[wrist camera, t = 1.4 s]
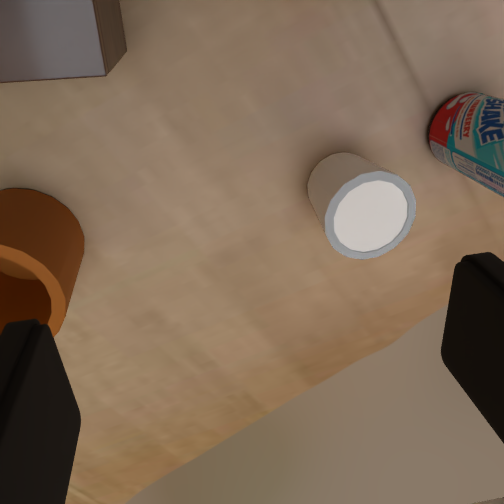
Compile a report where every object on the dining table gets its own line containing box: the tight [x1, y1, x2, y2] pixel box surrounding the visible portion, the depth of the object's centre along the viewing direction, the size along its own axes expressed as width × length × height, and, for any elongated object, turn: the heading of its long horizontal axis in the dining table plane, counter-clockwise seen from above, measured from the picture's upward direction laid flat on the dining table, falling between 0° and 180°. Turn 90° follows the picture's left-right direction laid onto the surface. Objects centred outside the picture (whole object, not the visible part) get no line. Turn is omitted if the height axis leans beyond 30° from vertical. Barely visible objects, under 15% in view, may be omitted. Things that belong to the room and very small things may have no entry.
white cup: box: [307, 152, 416, 260], centre depth 36 cm, size 7×7×7 cm
